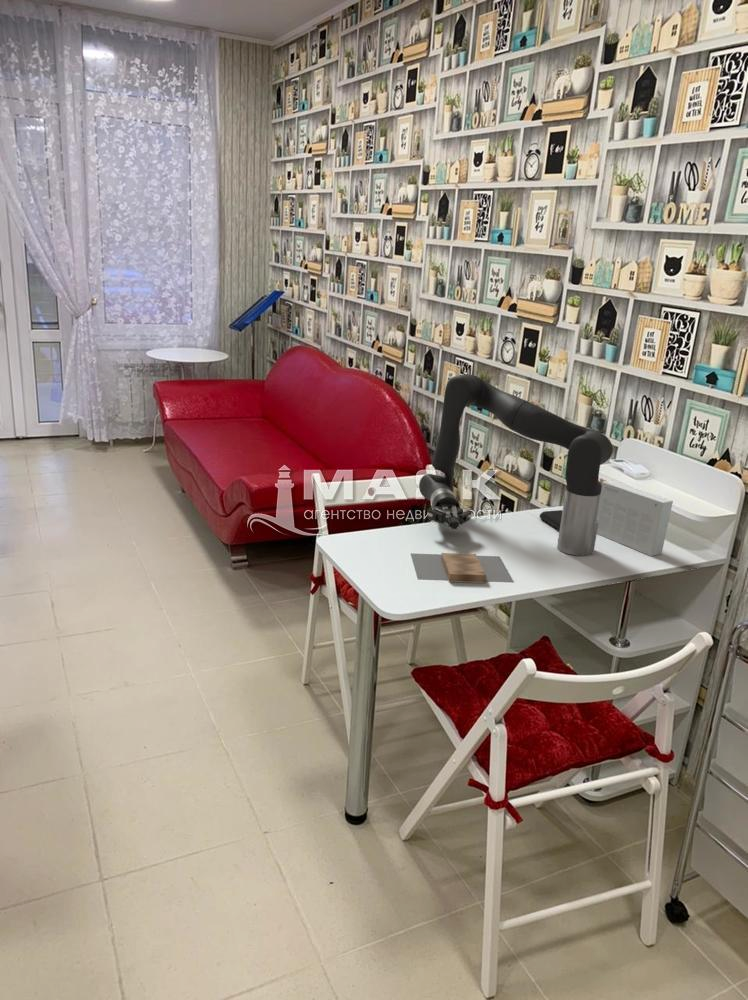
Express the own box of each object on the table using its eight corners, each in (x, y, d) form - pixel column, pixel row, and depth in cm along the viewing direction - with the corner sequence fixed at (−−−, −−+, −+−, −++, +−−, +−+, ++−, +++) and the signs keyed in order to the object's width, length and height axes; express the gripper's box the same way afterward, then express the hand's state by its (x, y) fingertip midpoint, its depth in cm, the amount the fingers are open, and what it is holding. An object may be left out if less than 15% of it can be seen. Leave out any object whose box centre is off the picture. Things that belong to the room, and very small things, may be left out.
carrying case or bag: (593, 533, 224) (565, 517, 237) (595, 524, 223) (566, 507, 236) (563, 536, 221) (536, 519, 234) (564, 527, 220) (537, 510, 233)
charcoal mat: (499, 558, 201) (499, 556, 201) (513, 584, 186) (514, 582, 186) (410, 555, 199) (410, 553, 199) (417, 581, 184) (417, 579, 184)
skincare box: (663, 553, 212) (674, 500, 207) (651, 557, 209) (662, 503, 204) (603, 529, 228) (612, 479, 223) (591, 531, 225) (600, 481, 220)
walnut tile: (475, 554, 196) (486, 575, 183) (475, 561, 196) (485, 583, 184) (441, 552, 195) (449, 573, 183) (440, 560, 196) (448, 582, 183)
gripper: (423, 491, 217) (431, 511, 201) (468, 492, 218) (480, 513, 202) (420, 515, 219) (429, 537, 203) (465, 517, 220) (477, 539, 204)
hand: (454, 525), depth 202 cm, fingers closed
